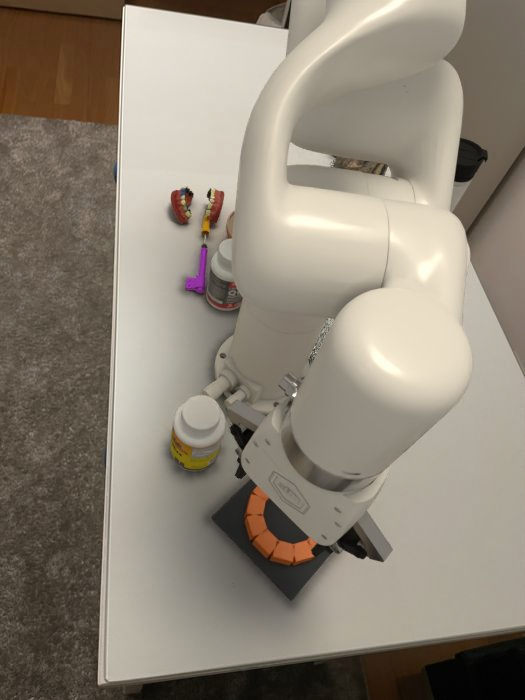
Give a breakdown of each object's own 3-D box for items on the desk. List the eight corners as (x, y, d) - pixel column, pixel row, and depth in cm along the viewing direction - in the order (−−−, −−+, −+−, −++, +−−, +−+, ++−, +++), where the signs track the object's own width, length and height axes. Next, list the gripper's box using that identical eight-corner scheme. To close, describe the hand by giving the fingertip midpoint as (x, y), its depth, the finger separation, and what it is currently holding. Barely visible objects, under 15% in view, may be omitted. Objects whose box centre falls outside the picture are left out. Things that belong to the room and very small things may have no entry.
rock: (327, 170, 94) (338, 195, 99) (379, 164, 89) (388, 190, 93) (342, 136, 98) (352, 161, 102) (392, 128, 93) (401, 155, 97)
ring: (292, 584, 58) (296, 580, 57) (227, 519, 61) (229, 514, 59) (345, 519, 63) (350, 515, 62) (283, 462, 66) (286, 456, 64)
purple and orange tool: (205, 294, 77) (211, 215, 86) (204, 289, 76) (210, 209, 85) (186, 295, 77) (194, 216, 86) (184, 290, 76) (193, 210, 85)
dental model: (222, 201, 81) (168, 202, 81) (224, 224, 84) (172, 224, 84) (224, 178, 84) (172, 178, 84) (226, 201, 87) (176, 201, 88)
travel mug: (425, 270, 88) (489, 168, 72) (385, 259, 88) (441, 154, 72) (426, 243, 92) (488, 140, 76) (388, 232, 92) (442, 127, 75)
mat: (291, 601, 58) (291, 600, 57) (211, 517, 61) (211, 517, 61) (358, 520, 64) (359, 519, 63) (282, 448, 67) (282, 447, 67)
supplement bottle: (167, 431, 65) (171, 389, 57) (214, 426, 67) (224, 385, 58) (172, 476, 63) (177, 439, 54) (221, 470, 64) (232, 433, 56)
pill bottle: (230, 318, 76) (240, 272, 68) (198, 299, 77) (204, 250, 69) (250, 295, 79) (262, 247, 71) (219, 276, 80) (228, 227, 72)
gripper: (209, 379, 38) (191, 465, 52) (408, 572, 33) (328, 607, 48) (282, 321, 41) (246, 416, 56) (470, 487, 37) (379, 543, 51)
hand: (284, 504), depth 52 cm, fingers open, 9 cm apart
